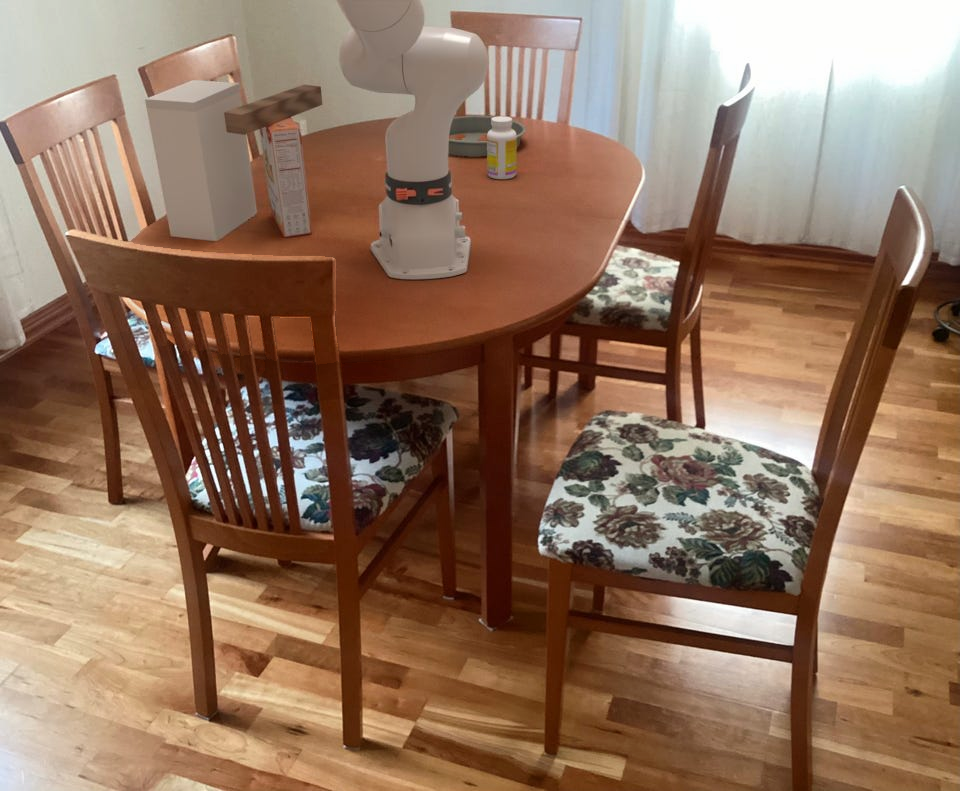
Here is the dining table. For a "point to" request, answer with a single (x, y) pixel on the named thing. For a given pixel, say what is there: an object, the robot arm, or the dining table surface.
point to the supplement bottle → (501, 149)
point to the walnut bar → (272, 109)
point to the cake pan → (475, 135)
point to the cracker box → (286, 177)
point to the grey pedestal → (201, 159)
